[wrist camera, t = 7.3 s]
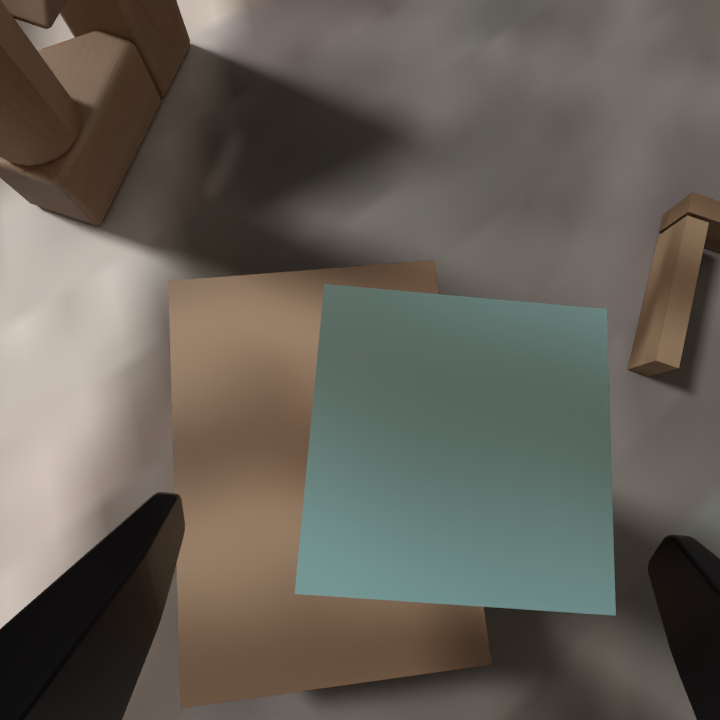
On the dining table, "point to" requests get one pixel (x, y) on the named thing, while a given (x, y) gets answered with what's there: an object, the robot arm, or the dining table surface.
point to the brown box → (275, 501)
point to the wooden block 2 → (82, 97)
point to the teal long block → (459, 453)
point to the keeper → (674, 283)
